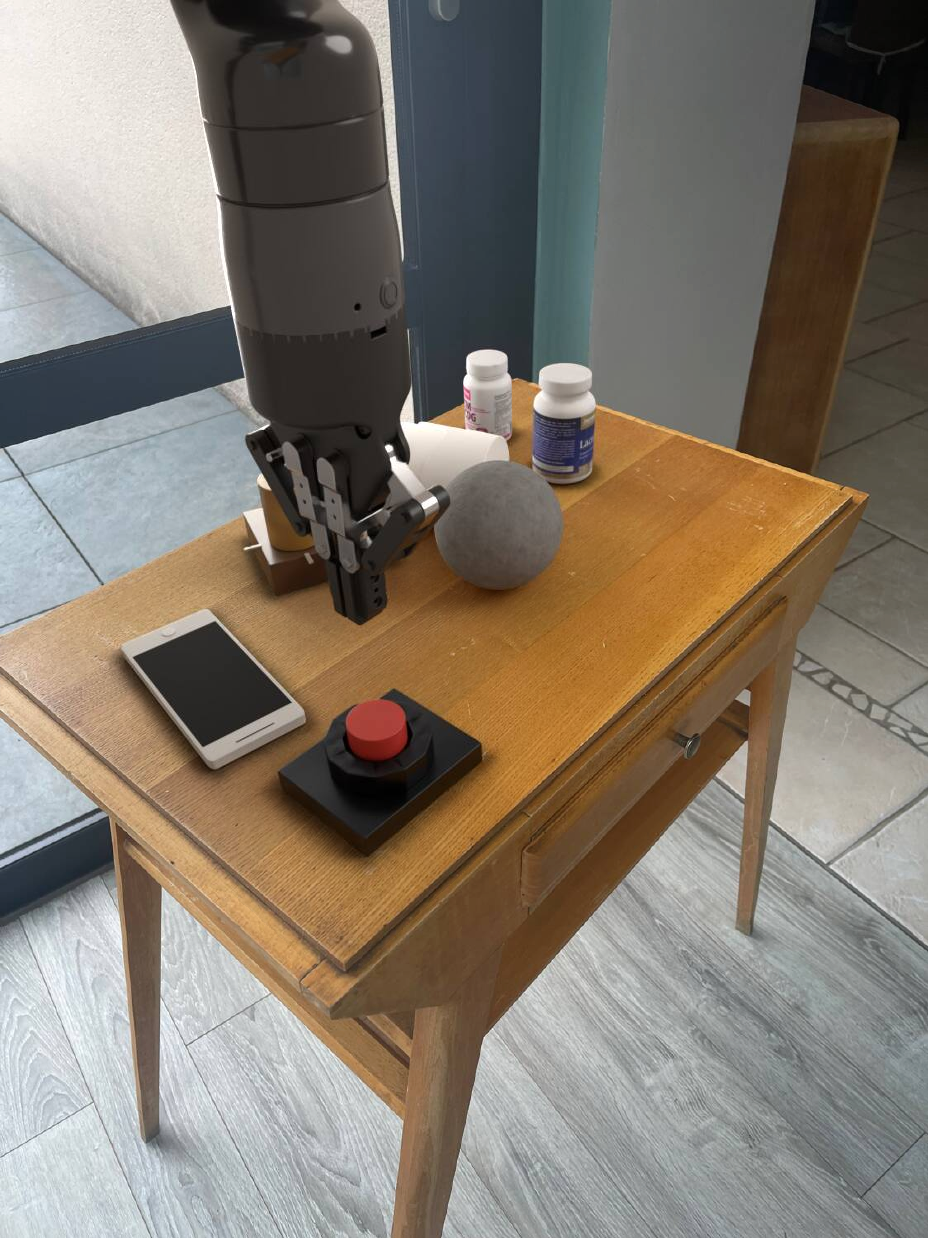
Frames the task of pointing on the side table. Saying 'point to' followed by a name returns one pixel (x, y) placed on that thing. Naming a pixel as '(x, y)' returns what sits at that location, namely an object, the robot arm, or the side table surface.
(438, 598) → the side table surface
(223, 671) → the smartphone
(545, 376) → the pill bottle
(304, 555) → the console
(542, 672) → the side table surface
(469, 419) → the pill bottle
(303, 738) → the side table surface
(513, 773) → the side table surface
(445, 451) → the mug
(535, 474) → the decorative ball
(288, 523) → the knob
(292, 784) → the button box
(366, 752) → the button
